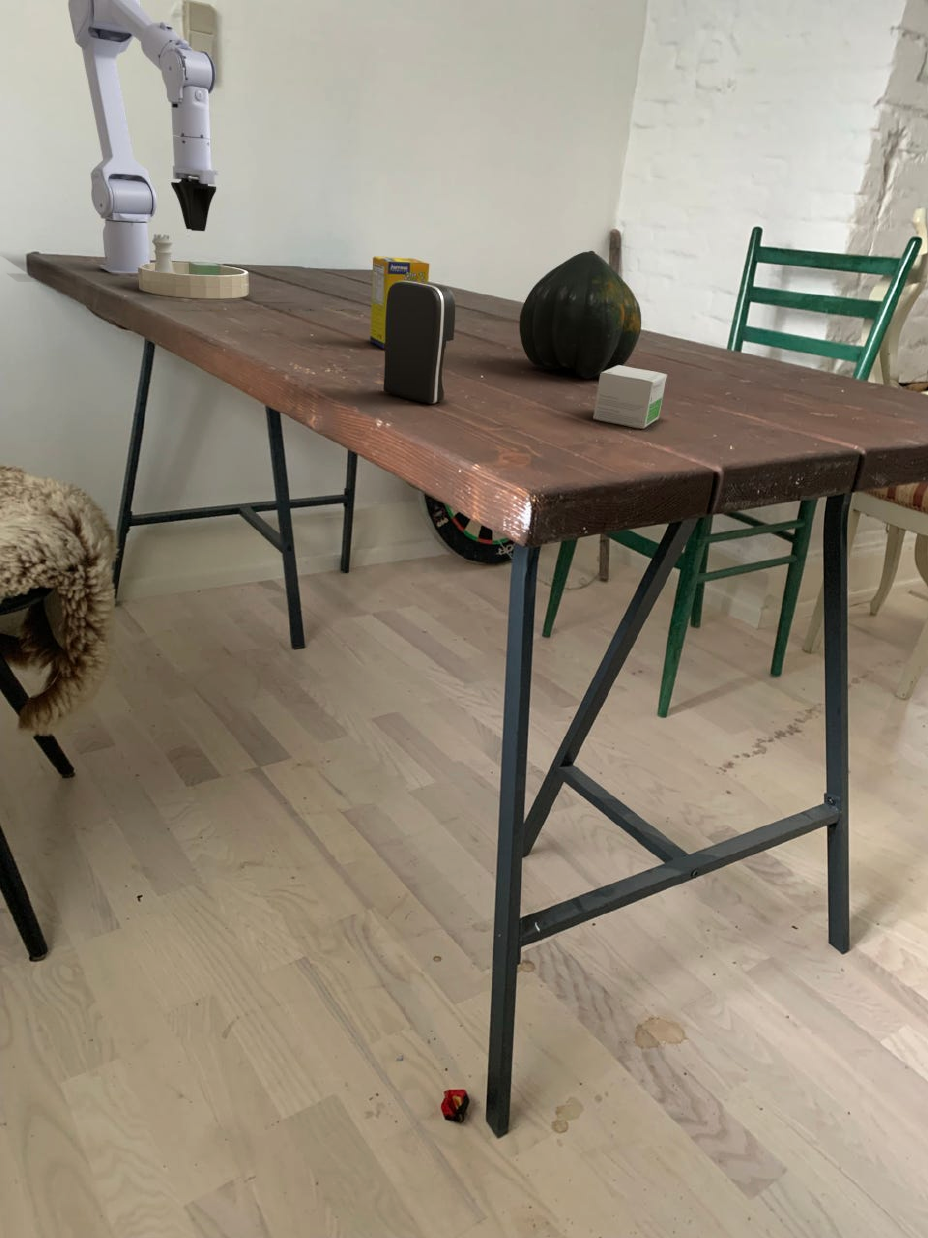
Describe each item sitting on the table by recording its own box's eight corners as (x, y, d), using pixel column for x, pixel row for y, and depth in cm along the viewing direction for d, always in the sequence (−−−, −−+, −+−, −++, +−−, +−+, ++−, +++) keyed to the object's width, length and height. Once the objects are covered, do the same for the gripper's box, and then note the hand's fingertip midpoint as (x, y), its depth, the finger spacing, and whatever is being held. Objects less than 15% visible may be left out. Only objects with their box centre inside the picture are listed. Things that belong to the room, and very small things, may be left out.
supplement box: (425, 350, 120) (430, 262, 116) (382, 349, 118) (385, 260, 113) (411, 342, 125) (415, 257, 121) (369, 341, 123) (372, 255, 118)
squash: (565, 341, 103) (636, 236, 104) (479, 323, 113) (545, 228, 114) (617, 416, 113) (681, 319, 114) (534, 394, 123) (594, 306, 124)
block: (189, 287, 152) (188, 261, 150) (212, 287, 154) (212, 262, 152) (197, 290, 149) (196, 264, 147) (221, 290, 151) (220, 265, 149)
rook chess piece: (149, 285, 150) (145, 233, 146) (176, 286, 152) (174, 234, 148) (152, 289, 146) (149, 235, 143) (181, 290, 148) (178, 237, 144)
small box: (645, 430, 91) (653, 380, 89) (591, 419, 93) (598, 371, 91) (660, 419, 95) (669, 372, 93) (608, 410, 97) (616, 363, 95)
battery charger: (454, 401, 95) (463, 286, 90) (430, 406, 92) (438, 287, 87) (403, 388, 99) (410, 277, 94) (380, 392, 96) (385, 278, 91)
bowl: (126, 286, 151) (124, 260, 149) (226, 287, 160) (225, 263, 158) (158, 302, 138) (156, 274, 136) (264, 302, 147) (264, 276, 146)
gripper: (232, 141, 141) (234, 235, 147) (200, 138, 152) (204, 226, 158) (187, 136, 137) (191, 233, 143) (158, 134, 148) (163, 224, 154)
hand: (195, 229), depth 150 cm, fingers closed
